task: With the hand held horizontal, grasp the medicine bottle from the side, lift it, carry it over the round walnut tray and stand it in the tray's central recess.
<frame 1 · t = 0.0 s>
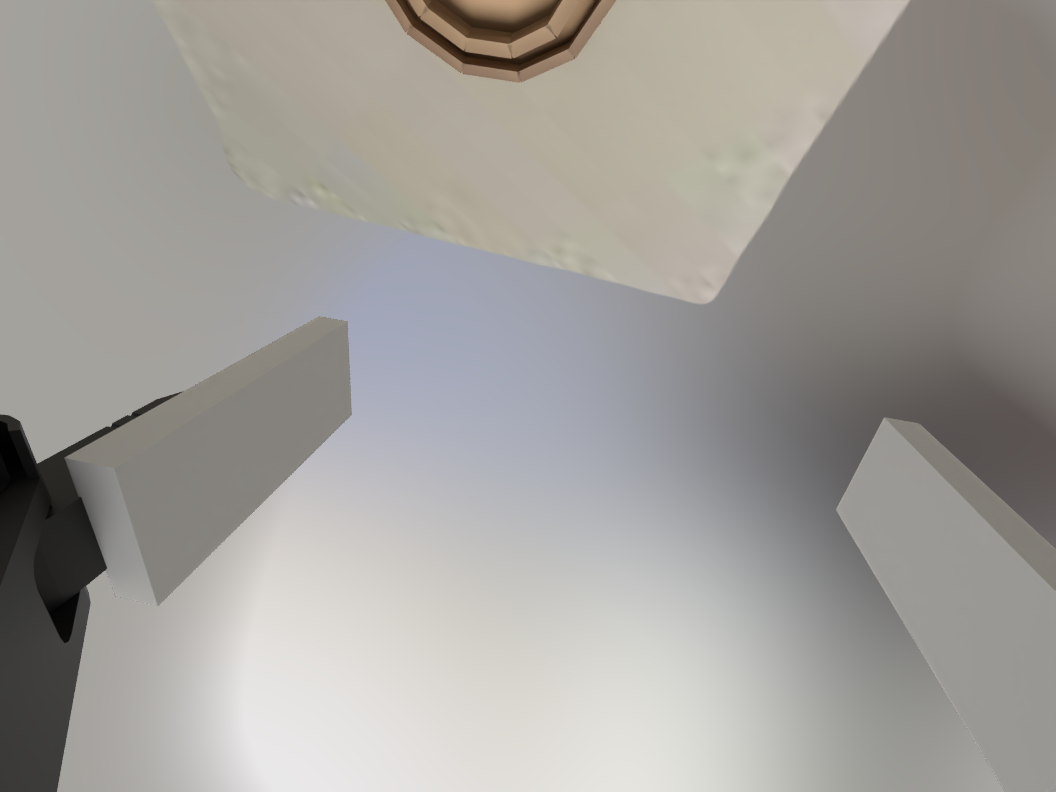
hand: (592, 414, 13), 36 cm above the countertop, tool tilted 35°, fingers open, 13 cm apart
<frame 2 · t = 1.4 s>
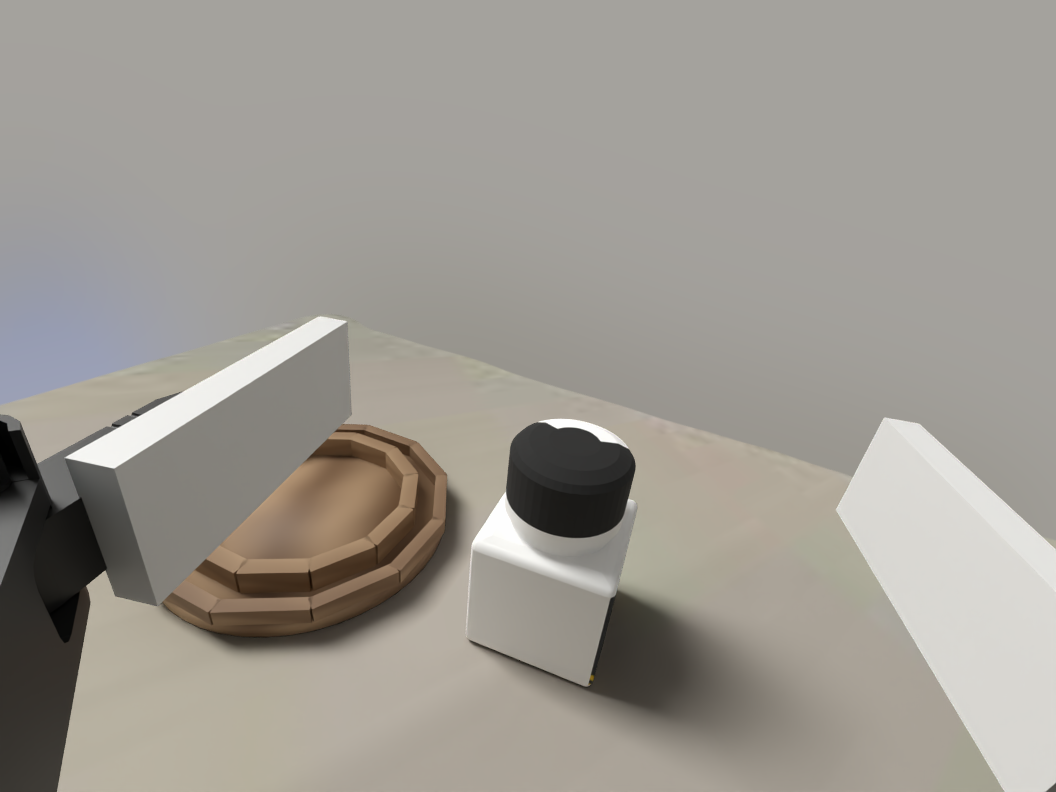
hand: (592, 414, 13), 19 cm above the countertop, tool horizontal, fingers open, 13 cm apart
walnut tray: (311, 518, 34), on the countertop
medicine bottle: (544, 614, 29), on the countertop
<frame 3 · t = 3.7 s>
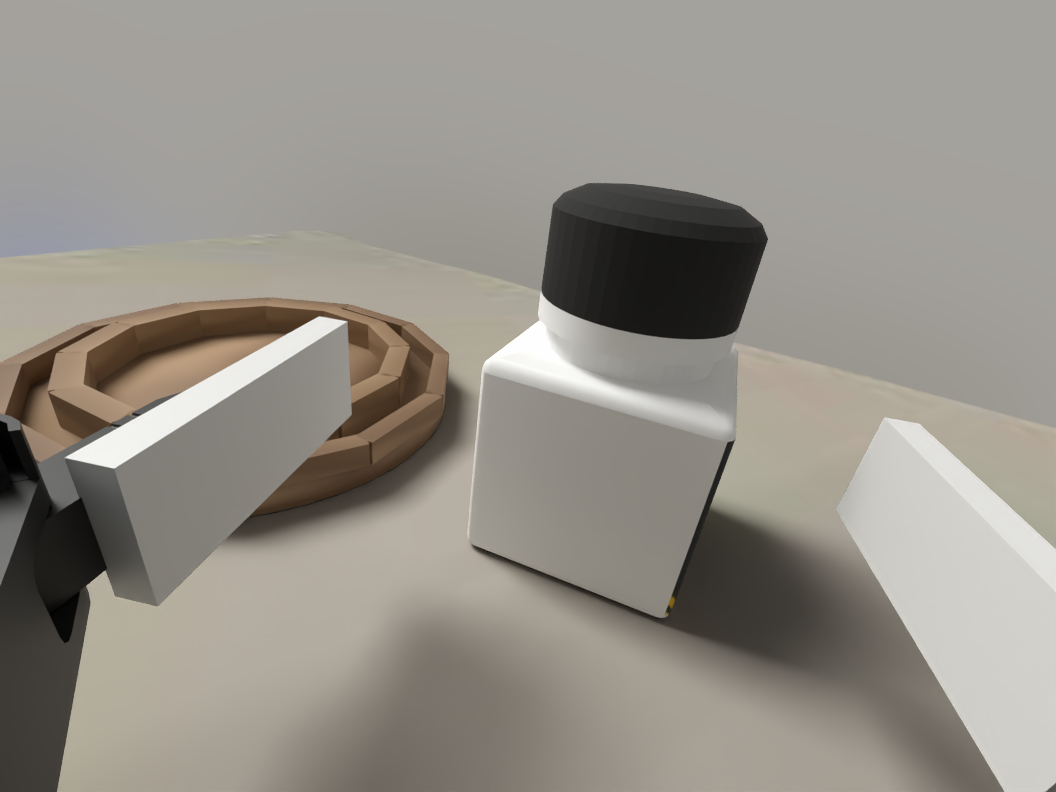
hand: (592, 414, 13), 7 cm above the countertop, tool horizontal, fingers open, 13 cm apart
walnut tray: (259, 395, 25), on the countertop
medicine bottle: (586, 523, 20), on the countertop
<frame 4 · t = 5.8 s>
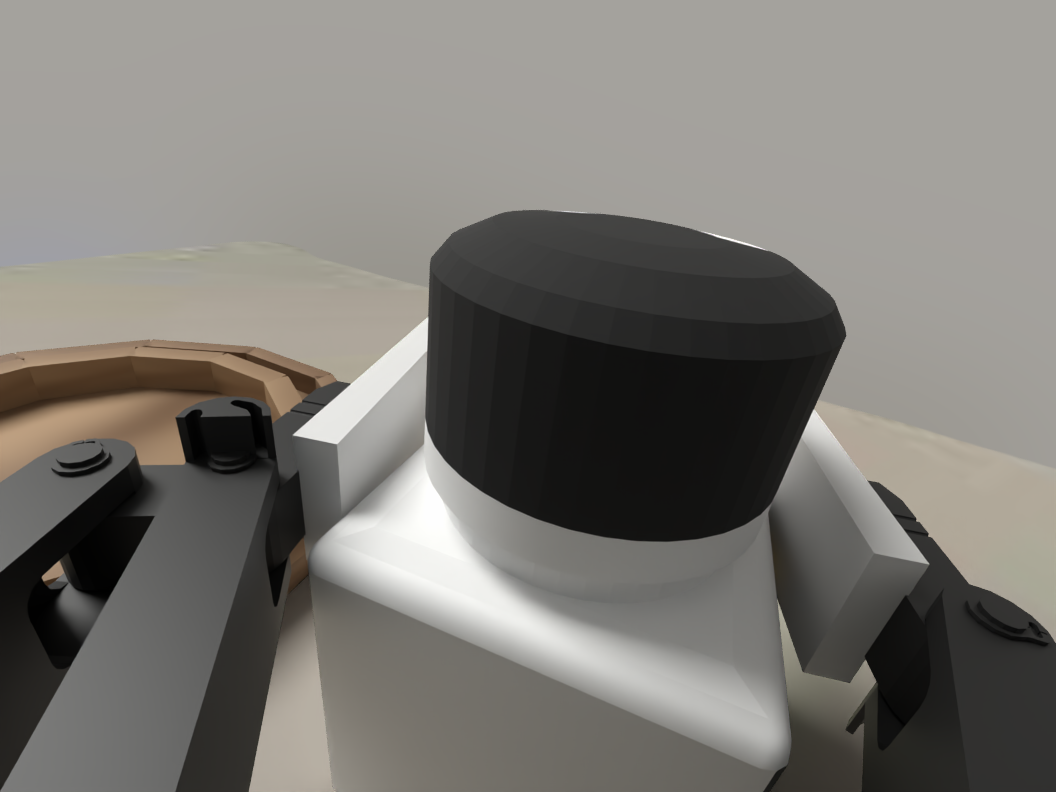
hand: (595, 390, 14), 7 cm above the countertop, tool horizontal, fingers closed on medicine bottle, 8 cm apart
walnut tray: (95, 491, 18), on the countertop
medicine bottle: (534, 715, 13), on the countertop, touching gripper
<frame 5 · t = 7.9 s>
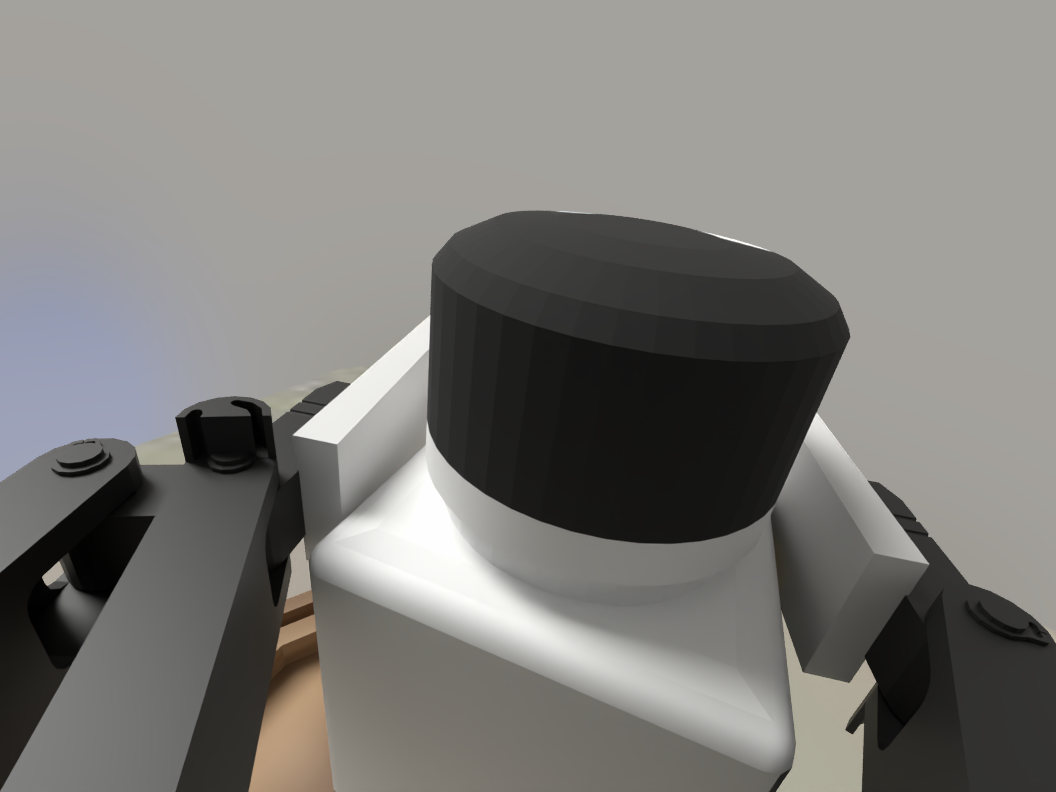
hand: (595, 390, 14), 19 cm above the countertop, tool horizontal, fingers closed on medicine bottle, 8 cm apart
walnut tray: (361, 778, 21), on the countertop
medicine bottle: (535, 716, 13), point 11 cm above the countertop, touching gripper
when the fingers open (9 cm above the countertop, at t = 10.4 s): medicine bottle drops 1 cm, resting on walnut tray.
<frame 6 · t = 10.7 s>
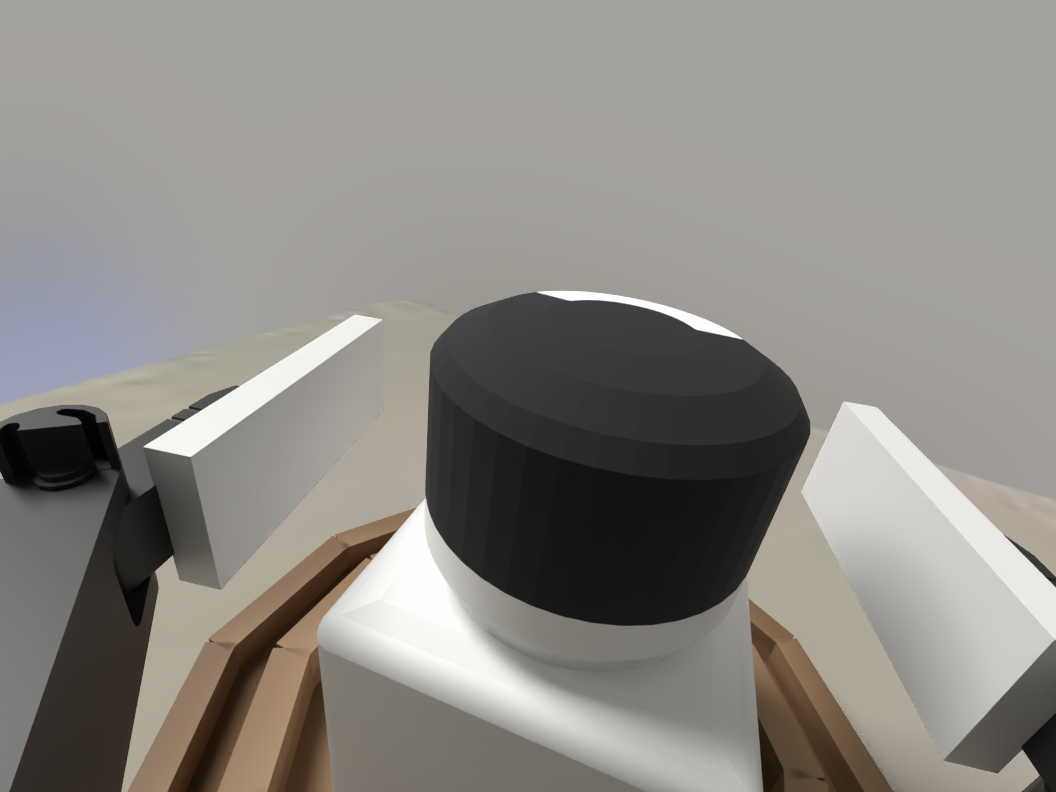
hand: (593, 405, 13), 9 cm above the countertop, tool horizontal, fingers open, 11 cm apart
walnut tray: (525, 762, 14), on the countertop
medicine bottle: (528, 748, 14), point 1 cm above the countertop, touching walnut tray
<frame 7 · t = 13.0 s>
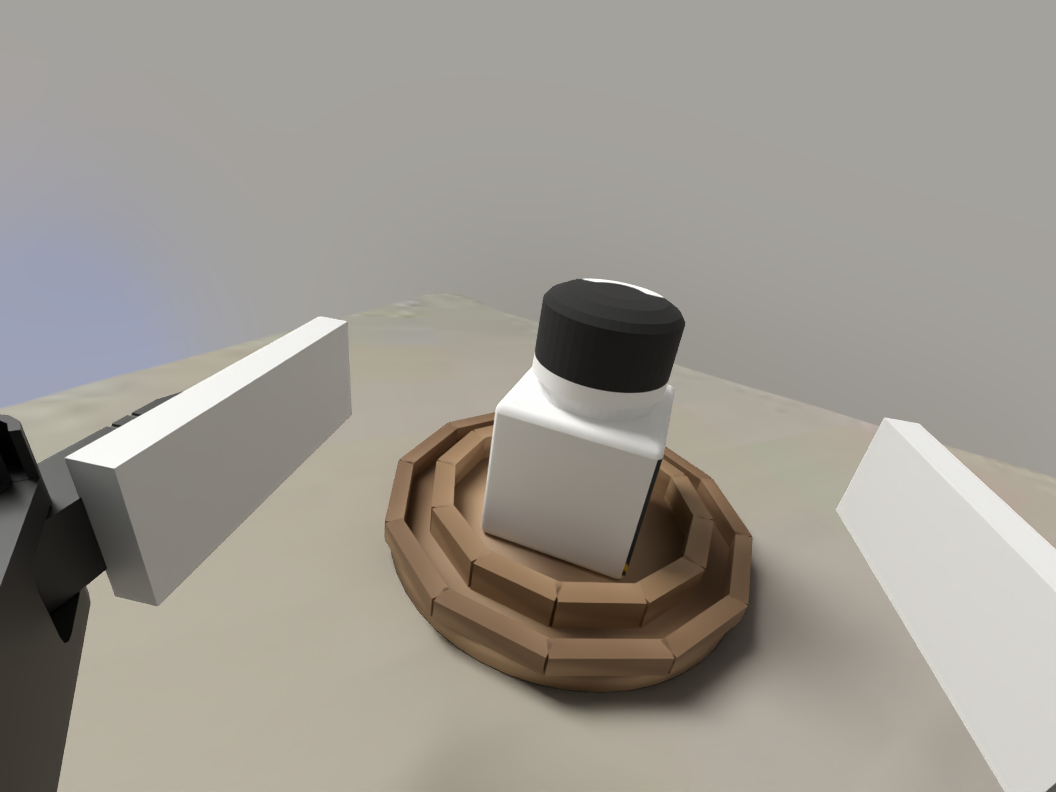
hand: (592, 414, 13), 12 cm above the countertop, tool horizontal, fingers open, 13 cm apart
walnut tray: (563, 526, 27), on the countertop
medicine bottle: (566, 515, 26), point 1 cm above the countertop, touching walnut tray
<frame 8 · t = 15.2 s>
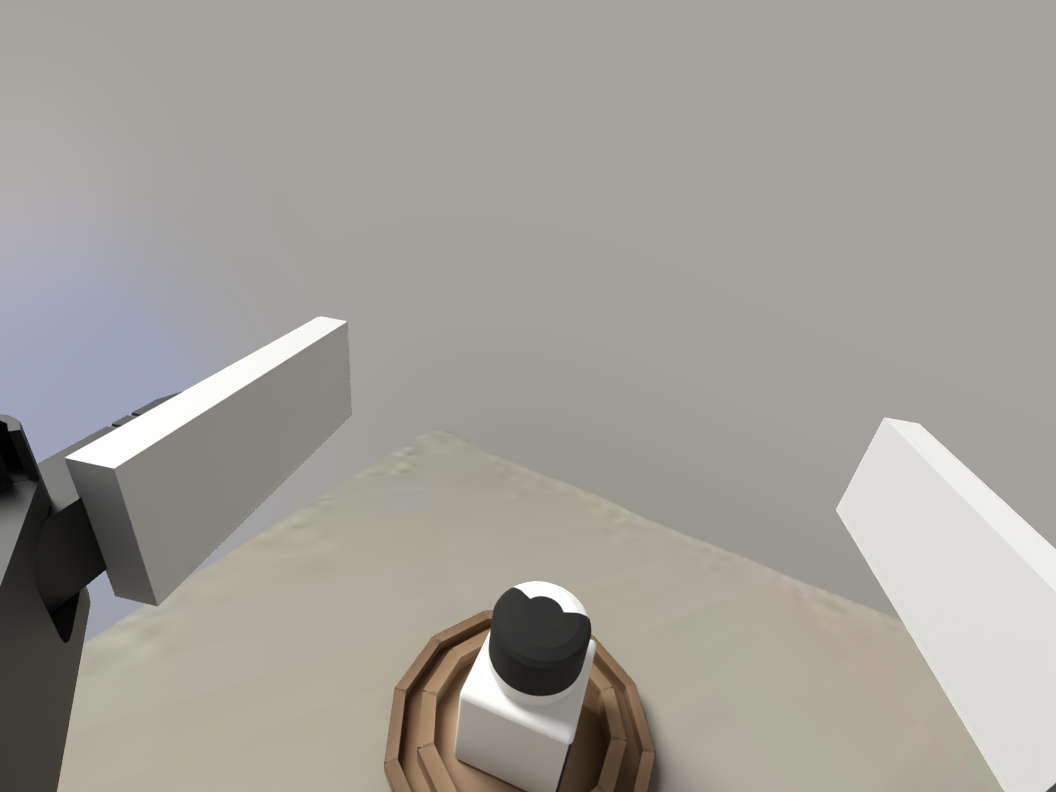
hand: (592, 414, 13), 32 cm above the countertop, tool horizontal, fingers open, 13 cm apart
walnut tray: (518, 735, 36), on the countertop
medicine bottle: (519, 730, 35), point 1 cm above the countertop, touching walnut tray
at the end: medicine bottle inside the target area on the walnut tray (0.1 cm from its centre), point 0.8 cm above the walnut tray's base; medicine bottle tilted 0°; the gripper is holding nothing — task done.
